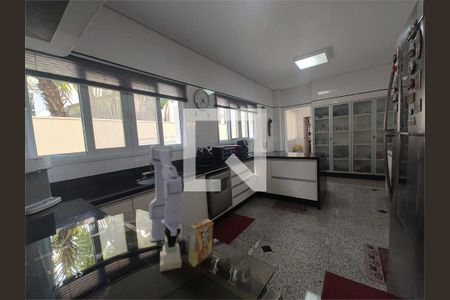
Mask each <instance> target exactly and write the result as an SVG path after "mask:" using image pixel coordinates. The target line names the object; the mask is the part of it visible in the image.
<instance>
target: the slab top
mask: <svg viewBox="0 0 450 300" xmlns="http://www.w3.org/2000/svg"><path fill="white" fill-rule="evenodd" d="M162 251H163V263H166V262H172V261H177V260H180V255H181V250H180V245H179V243H178V242H177V244H176V250H172V251H166V252H165V244H164V245H162Z"/></svg>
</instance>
